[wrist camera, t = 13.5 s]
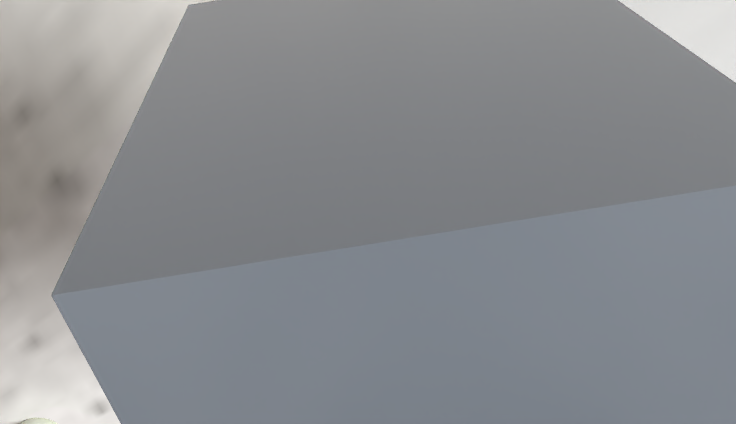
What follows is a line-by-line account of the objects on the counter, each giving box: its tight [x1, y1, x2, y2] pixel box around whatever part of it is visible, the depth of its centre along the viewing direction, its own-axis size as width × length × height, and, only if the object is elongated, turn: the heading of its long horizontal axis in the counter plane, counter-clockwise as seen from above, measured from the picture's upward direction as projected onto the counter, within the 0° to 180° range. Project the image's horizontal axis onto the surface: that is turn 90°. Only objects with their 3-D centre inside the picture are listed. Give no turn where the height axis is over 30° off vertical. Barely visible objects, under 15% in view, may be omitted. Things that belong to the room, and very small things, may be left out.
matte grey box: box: [52, 0, 736, 424], centre depth 13 cm, size 7×12×9 cm, turn 8°
